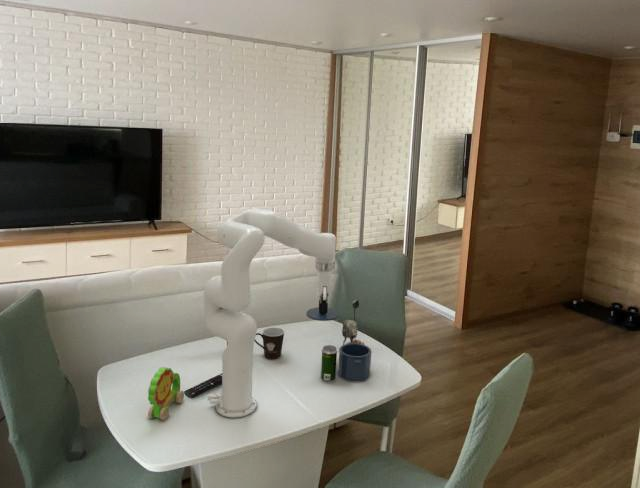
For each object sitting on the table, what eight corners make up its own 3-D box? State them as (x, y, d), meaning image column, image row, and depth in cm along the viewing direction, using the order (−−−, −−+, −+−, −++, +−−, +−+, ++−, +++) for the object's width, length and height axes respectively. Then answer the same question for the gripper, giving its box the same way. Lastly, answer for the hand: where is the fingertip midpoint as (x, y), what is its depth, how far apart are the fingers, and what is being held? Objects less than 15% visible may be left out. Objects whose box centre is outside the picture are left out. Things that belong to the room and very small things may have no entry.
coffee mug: (287, 355, 208) (288, 331, 207) (273, 363, 201) (274, 338, 200) (265, 347, 215) (266, 324, 213) (251, 354, 207) (251, 330, 206)
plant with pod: (335, 345, 219) (338, 300, 217) (359, 341, 225) (361, 296, 223) (345, 353, 212) (347, 306, 210) (368, 348, 218) (371, 302, 216)
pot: (340, 385, 187) (341, 360, 186) (336, 363, 204) (337, 340, 202) (372, 385, 188) (374, 360, 187) (366, 363, 205) (367, 340, 204)
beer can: (335, 383, 188) (337, 351, 187) (320, 382, 188) (322, 351, 186) (335, 376, 194) (337, 345, 192) (320, 375, 193) (322, 344, 192)
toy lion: (169, 397, 173) (170, 354, 171) (185, 399, 172) (185, 356, 170) (142, 424, 158) (142, 376, 156) (159, 427, 157) (159, 379, 155)
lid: (306, 322, 196) (307, 305, 195) (305, 309, 209) (306, 293, 208) (340, 322, 198) (341, 305, 197) (337, 310, 210) (338, 294, 209)
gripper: (314, 259, 208) (312, 303, 210) (316, 271, 192) (314, 319, 194) (333, 259, 209) (331, 304, 211) (336, 271, 193) (334, 319, 195)
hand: (322, 310), depth 203 cm, fingers closed on lid, 2 cm apart
